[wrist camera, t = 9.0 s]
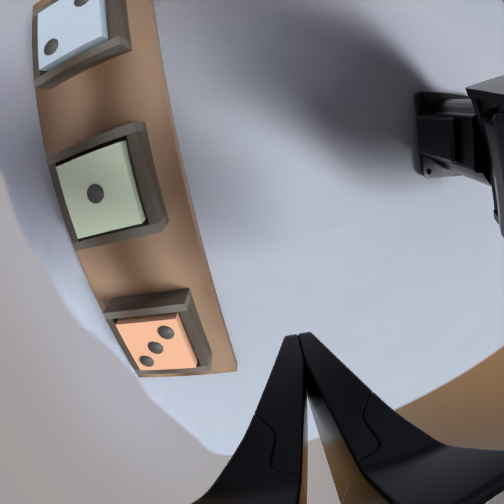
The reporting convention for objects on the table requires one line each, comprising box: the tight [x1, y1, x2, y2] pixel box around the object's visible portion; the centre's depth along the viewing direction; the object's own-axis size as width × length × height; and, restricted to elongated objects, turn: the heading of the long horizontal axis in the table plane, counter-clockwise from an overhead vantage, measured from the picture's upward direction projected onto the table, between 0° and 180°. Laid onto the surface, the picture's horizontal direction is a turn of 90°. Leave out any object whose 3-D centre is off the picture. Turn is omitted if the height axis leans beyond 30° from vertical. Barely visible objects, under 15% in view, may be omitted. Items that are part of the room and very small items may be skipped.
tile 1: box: [56, 140, 147, 239], centre depth 16 cm, size 5×5×2 cm
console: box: [32, 0, 237, 377], centre depth 17 cm, size 10×36×3 cm, turn 10°
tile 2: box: [38, 0, 110, 71], centre depth 11 cm, size 5×5×2 cm
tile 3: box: [115, 312, 198, 370], centre depth 21 cm, size 5×5×2 cm
